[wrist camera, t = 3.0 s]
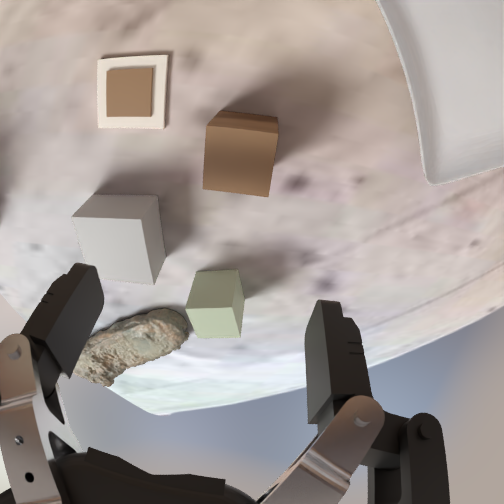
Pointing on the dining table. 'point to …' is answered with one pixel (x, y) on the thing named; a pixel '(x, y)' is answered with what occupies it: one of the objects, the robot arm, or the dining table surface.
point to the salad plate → (453, 81)
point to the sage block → (216, 304)
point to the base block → (121, 237)
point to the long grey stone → (130, 345)
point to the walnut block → (240, 153)
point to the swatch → (132, 92)
